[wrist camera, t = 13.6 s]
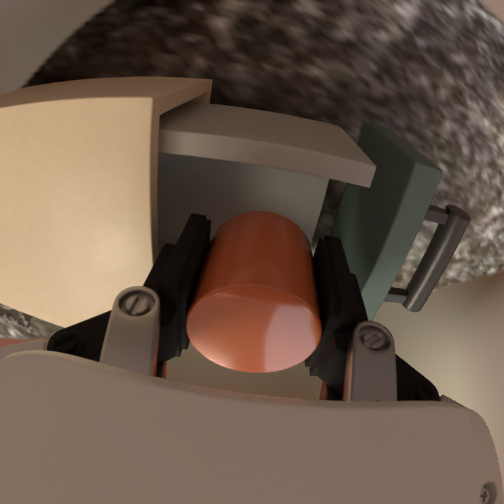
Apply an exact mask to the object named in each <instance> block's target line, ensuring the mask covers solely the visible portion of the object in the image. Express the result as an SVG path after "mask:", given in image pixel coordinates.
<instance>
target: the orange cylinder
mask: <svg viewBox="0 0 504 504" xmlns="http://www.w3.org/2000/svg"><path fill="white" fill-rule="evenodd" d="M186 332H187V335H188V338H189V340H190V341H191V343H192V345H193V346H194V347H195V348H196V349H197V350H198V351H199V352H200V353H201V354H202V355H204V356H205V357H206V358H208V359H209V360H211V361H212V362H215V363H216V364H218V365H221V366H223V367H226V368H229V369H233V370H237V371H242V372H250V373H267V372H274V371H280V370H284V369H287V368H290V367H293V366H295V365H297V364H299V363H301V362H303V361H304V360H306V359H307V358H308V357H309V356H310V355H311V354H313V352H314V351H315V350H316V349H317V347H318V345H319V343H320V340H321V337H322V321H321V313H320V305H319V297H318V290H317V282H316V275H315V268H314V261H313V255H312V248H311V244H310V241H309V239H308V237H307V236H306V234H305V233H304V231H303V230H302V229H301V228H300V227H299V226H298V225H297V224H296V223H294V222H293V221H291V220H290V219H288V218H286V217H284V216H282V215H279V214H276V213H272V212H267V211H251V212H245V213H242V214H238V215H236V216H234V217H232V218H230V219H228V220H227V221H225V222H224V223H223V224H221V225H220V226H219V228H218V229H217V230H216V231H215V233H214V234H213V236H212V238H211V241H210V244H209V246H208V249H207V252H206V255H205V258H204V262H203V265H202V268H201V271H200V274H199V277H198V280H197V283H196V286H195V289H194V292H193V296H192V299H191V302H190V305H189V308H188V311H187V315H186Z"/></svg>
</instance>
